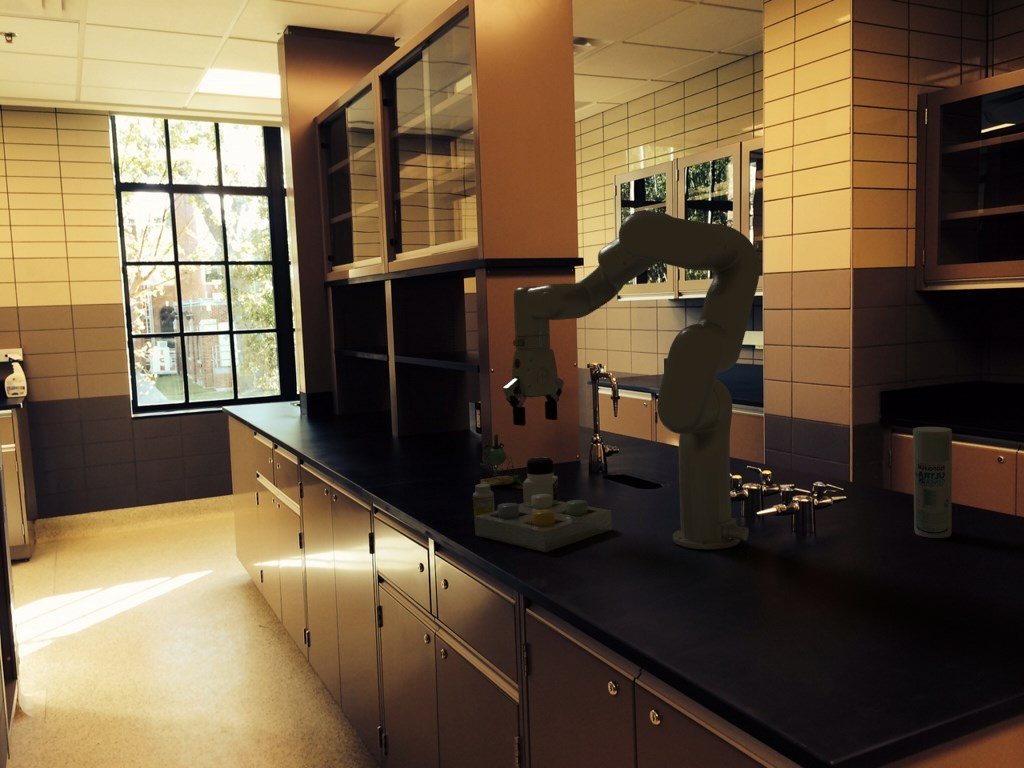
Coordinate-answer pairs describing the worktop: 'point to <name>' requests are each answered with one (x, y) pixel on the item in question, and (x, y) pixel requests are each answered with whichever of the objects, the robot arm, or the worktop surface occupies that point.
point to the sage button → (576, 508)
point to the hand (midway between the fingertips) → (535, 422)
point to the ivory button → (542, 501)
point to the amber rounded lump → (543, 518)
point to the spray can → (932, 481)
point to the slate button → (508, 511)
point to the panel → (543, 538)
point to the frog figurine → (498, 458)
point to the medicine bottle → (540, 479)
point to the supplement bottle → (483, 500)
